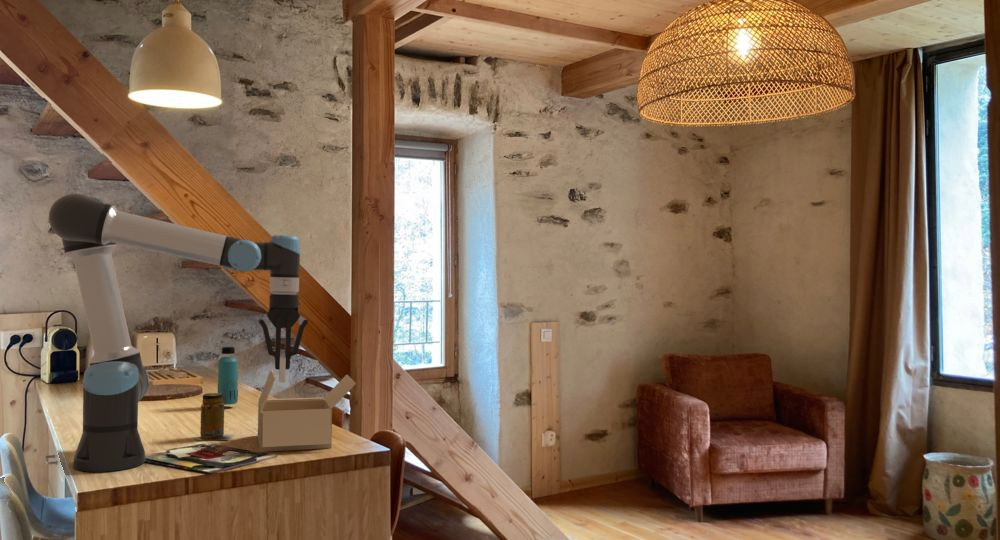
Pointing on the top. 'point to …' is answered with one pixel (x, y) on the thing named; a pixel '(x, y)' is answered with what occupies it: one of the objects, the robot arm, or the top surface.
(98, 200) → the robot arm
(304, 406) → the carton
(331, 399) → the right flap
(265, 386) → the left flap
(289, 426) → the near flap
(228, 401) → the beverage bottle
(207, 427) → the condiment
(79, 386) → the top surface
